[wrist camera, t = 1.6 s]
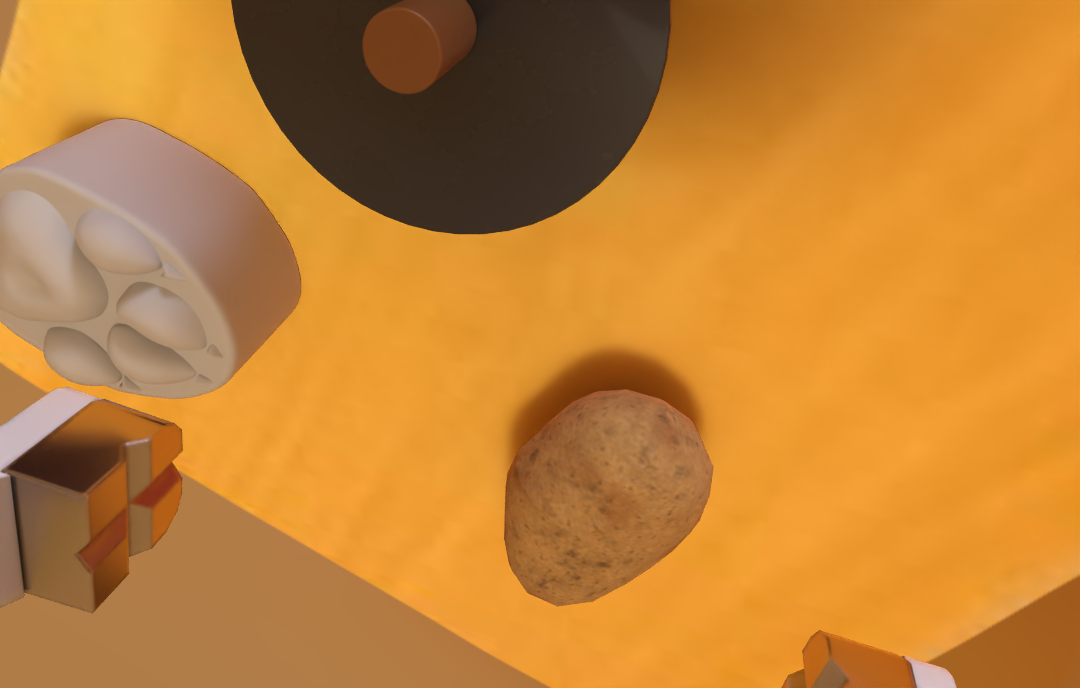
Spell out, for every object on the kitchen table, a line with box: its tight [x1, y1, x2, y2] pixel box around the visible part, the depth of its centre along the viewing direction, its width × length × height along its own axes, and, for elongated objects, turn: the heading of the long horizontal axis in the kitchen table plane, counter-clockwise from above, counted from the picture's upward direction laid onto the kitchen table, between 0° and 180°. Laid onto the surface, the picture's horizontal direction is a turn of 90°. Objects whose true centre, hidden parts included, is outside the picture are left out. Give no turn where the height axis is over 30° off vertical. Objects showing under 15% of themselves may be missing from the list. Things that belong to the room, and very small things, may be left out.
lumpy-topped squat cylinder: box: [0, 119, 301, 399], centre depth 40 cm, size 10×13×9 cm
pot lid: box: [231, 0, 671, 234], centre depth 25 cm, size 15×15×5 cm
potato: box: [504, 389, 713, 606], centre depth 43 cm, size 10×14×8 cm
